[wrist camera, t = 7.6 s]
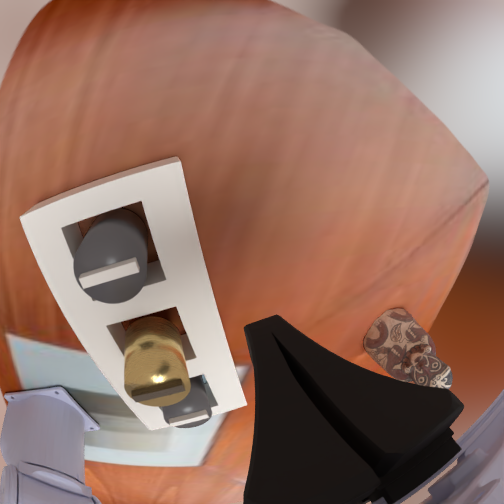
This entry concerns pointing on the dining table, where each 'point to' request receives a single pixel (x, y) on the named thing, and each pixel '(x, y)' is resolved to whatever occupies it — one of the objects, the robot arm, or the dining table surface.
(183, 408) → the black knob
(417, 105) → the dining table surface
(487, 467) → the robot arm
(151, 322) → the brass knob middle
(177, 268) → the control deck
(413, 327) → the figurine
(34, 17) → the dining table surface
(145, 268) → the black knob
